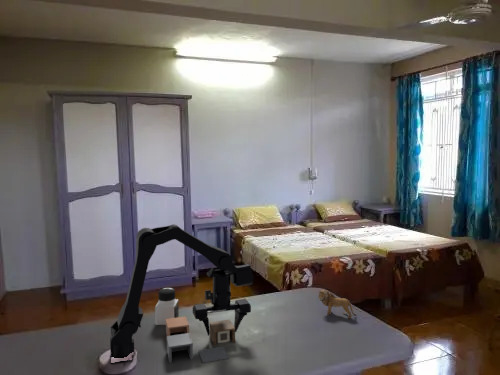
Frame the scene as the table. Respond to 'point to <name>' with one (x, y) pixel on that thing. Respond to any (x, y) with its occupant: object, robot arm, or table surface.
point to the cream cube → (223, 336)
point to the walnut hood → (221, 329)
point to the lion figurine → (334, 302)
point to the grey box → (179, 345)
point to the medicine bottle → (166, 306)
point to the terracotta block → (177, 325)
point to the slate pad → (213, 354)
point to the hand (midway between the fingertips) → (222, 333)
